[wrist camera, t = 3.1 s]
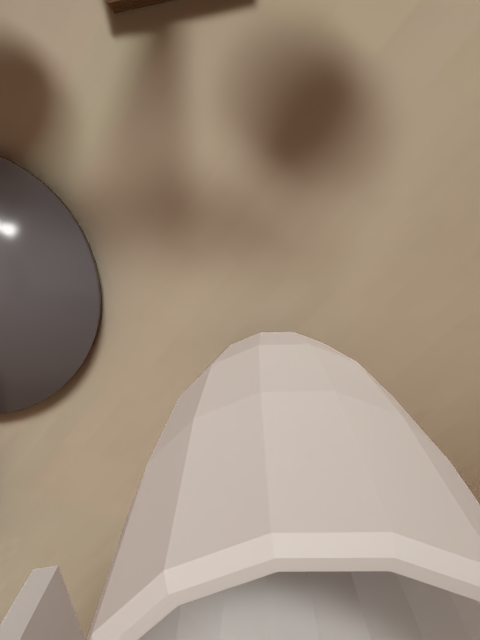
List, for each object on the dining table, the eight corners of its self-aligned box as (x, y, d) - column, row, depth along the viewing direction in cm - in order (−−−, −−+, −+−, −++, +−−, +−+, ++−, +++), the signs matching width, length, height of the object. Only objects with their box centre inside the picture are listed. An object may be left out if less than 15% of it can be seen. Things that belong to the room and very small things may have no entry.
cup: (211, 438, 30) (131, 957, 9) (173, 296, 28) (-55, 584, 7) (359, 409, 29) (626, 908, 9) (334, 261, 27) (632, 465, 6)
